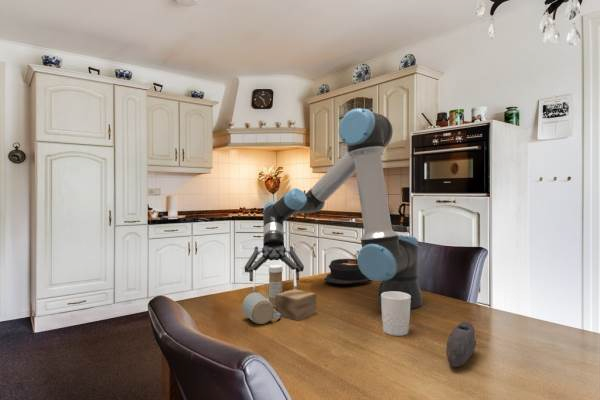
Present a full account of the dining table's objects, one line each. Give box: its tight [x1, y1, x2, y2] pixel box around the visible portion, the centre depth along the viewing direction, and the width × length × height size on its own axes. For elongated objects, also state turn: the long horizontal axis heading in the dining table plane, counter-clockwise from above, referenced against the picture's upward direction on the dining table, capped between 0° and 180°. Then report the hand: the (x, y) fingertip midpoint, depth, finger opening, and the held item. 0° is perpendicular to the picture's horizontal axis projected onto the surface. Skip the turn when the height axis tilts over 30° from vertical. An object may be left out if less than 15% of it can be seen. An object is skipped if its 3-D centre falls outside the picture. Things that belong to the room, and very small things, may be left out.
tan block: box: [274, 288, 317, 322], centre depth 120 cm, size 9×9×6 cm
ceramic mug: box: [241, 291, 282, 325], centre depth 114 cm, size 11×8×8 cm
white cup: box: [380, 291, 411, 337], centre depth 105 cm, size 8×8×10 cm
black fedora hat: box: [323, 258, 370, 285], centre depth 163 cm, size 25×19×8 cm
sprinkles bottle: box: [268, 264, 283, 308], centre depth 128 cm, size 5×5×14 cm
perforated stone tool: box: [445, 321, 477, 368], centre depth 87 cm, size 15×5×7 cm, turn 143°
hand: (274, 288), depth 127 cm, fingers open, 13 cm apart
